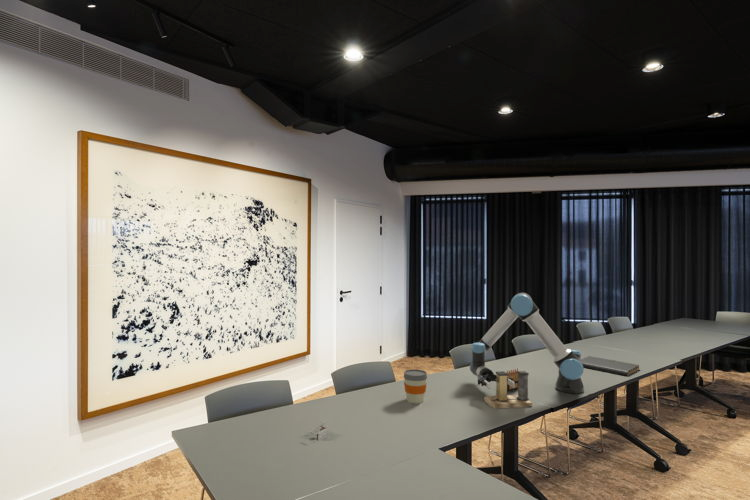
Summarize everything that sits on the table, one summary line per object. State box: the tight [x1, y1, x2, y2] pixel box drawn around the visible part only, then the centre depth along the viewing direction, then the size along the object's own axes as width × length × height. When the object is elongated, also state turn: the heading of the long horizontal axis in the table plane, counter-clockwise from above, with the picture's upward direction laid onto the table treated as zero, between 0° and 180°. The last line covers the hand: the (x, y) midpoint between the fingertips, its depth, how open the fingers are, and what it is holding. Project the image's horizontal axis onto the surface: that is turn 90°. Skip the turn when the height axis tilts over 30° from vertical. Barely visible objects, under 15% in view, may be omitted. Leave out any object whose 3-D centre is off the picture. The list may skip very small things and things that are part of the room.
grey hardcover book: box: [581, 355, 640, 377], centre depth 292 cm, size 33×4×24 cm
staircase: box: [309, 421, 328, 441], centre depth 179 cm, size 6×4×6 cm, turn 141°
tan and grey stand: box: [483, 370, 533, 409], centre depth 222 cm, size 22×12×16 cm, turn 98°
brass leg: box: [495, 370, 508, 401], centre depth 221 cm, size 5×5×14 cm
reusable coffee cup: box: [403, 368, 428, 404], centre depth 226 cm, size 13×12×15 cm
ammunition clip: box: [505, 368, 519, 393], centre depth 243 cm, size 11×2×12 cm, turn 123°
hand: (502, 385), depth 220 cm, fingers open, 13 cm apart
